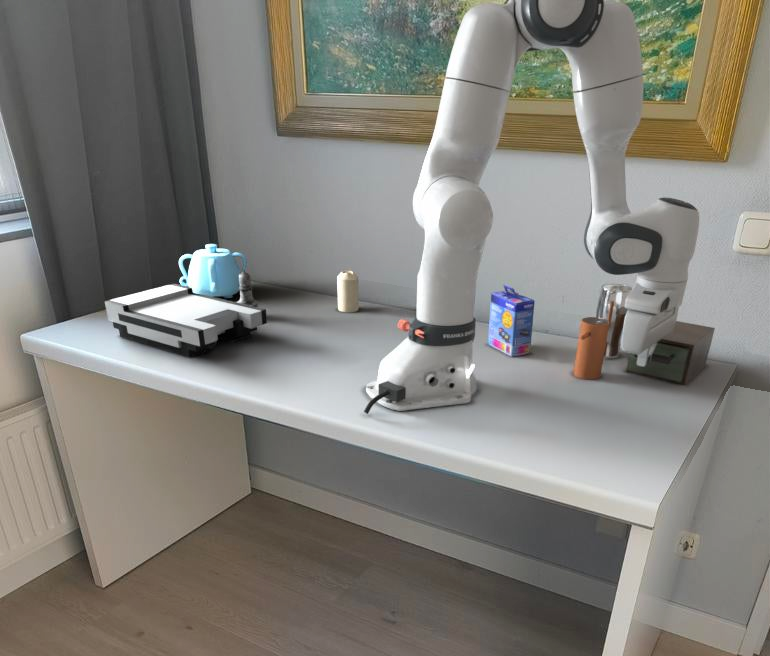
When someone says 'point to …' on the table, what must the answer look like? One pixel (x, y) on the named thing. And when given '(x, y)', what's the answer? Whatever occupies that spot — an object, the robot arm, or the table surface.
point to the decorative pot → (213, 271)
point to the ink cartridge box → (511, 322)
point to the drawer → (663, 362)
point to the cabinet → (692, 338)
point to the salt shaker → (246, 290)
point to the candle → (347, 292)
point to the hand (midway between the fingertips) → (643, 364)
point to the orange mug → (591, 348)
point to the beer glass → (613, 315)
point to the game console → (182, 319)
